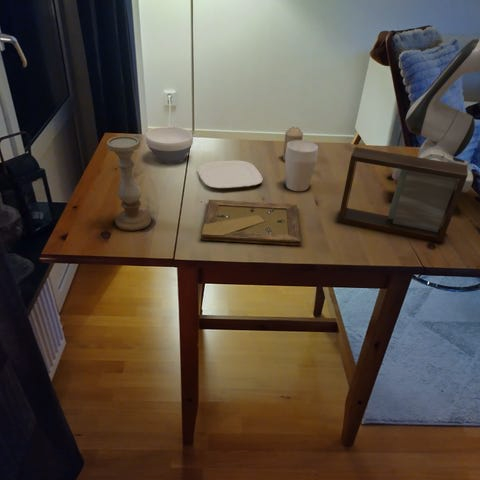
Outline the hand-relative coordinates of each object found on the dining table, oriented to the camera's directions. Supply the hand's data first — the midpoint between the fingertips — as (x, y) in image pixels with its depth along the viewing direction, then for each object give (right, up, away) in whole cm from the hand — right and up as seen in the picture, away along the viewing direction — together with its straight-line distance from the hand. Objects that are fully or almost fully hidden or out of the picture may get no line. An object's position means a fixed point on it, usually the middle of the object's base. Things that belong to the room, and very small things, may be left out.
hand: (430, 187), depth 119 cm
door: (-5, -8, +1) cm, 9 cm away
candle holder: (-76, -10, -2) cm, 77 cm away
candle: (-32, +18, +32) cm, 49 cm away
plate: (-52, +8, +19) cm, 56 cm away
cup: (-32, +5, +17) cm, 37 cm away
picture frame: (-46, -10, -1) cm, 47 cm away
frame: (-10, -10, +1) cm, 14 cm away
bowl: (-71, +17, +29) cm, 79 cm away
